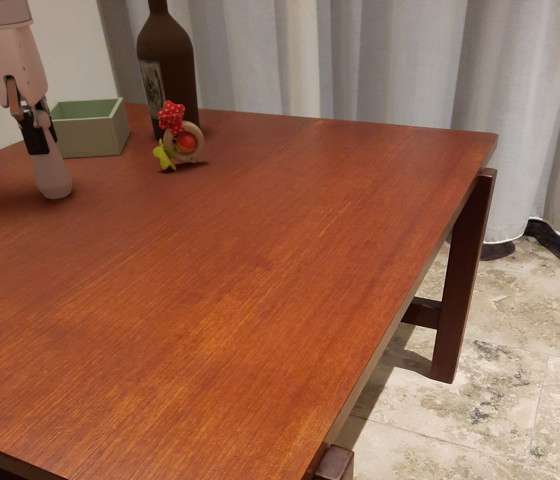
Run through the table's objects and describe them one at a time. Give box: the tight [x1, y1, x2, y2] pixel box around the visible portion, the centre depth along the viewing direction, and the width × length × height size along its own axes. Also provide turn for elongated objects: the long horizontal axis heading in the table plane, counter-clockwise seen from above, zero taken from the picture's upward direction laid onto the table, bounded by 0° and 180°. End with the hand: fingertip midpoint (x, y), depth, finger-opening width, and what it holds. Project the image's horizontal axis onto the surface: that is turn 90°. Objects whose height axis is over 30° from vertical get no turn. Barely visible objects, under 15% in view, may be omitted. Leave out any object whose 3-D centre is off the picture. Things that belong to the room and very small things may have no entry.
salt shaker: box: [26, 110, 73, 200], centre depth 89 cm, size 6×6×13 cm
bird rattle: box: [152, 100, 205, 172], centre depth 98 cm, size 6×11×9 cm
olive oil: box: [135, 0, 201, 143], centre depth 106 cm, size 11×11×25 cm
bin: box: [49, 96, 131, 159], centre depth 109 cm, size 14×14×7 cm
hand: (43, 147), depth 88 cm, fingers closed on salt shaker, 4 cm apart
